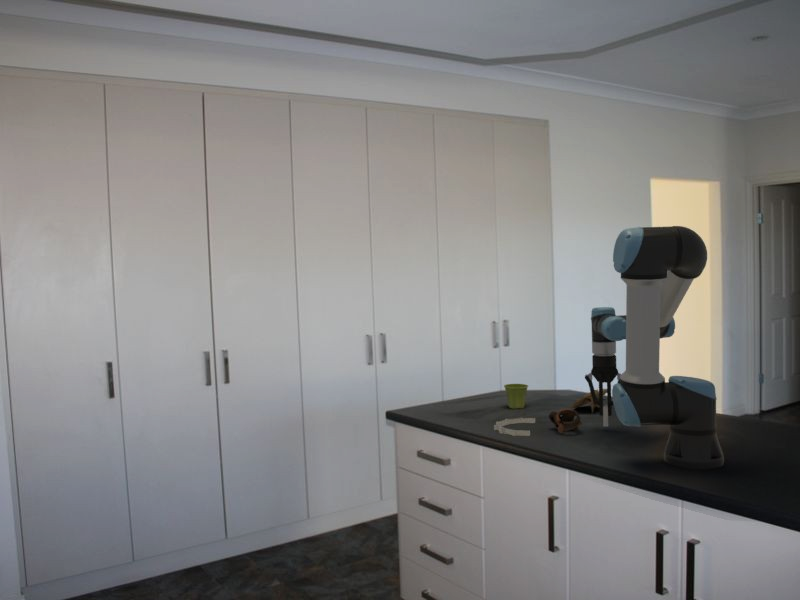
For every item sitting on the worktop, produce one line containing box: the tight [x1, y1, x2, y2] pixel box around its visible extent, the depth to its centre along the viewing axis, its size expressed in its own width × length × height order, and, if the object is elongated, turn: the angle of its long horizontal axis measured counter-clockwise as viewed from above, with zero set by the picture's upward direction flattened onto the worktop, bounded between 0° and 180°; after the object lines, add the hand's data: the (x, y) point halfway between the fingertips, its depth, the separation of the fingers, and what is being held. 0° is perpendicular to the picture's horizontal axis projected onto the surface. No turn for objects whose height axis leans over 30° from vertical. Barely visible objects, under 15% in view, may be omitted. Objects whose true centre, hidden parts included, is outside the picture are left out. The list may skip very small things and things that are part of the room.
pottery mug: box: [548, 408, 583, 435], centre depth 224 cm, size 12×9×8 cm
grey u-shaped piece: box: [493, 417, 536, 437], centre depth 231 cm, size 21×13×2 cm, turn 163°
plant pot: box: [503, 383, 529, 410], centre depth 264 cm, size 9×9×9 cm
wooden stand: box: [570, 387, 607, 414], centre depth 253 cm, size 18×14×8 cm
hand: (605, 425), depth 222 cm, fingers closed
